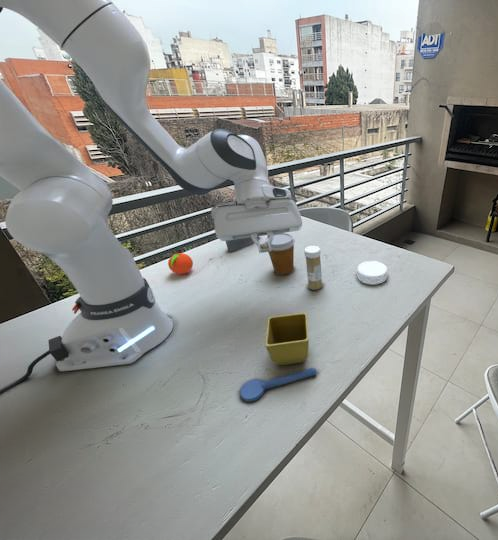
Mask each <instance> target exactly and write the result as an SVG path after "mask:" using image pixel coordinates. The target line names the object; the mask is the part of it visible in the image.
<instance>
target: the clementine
mask: <svg viewBox="0 0 498 540" xmlns="http://www.w3.org/2000/svg"><path fill="white" fill-rule="evenodd" d="M167 262H168V263H167V265H168V268H169V270H170V271H172V272H173V273H175V274H177V275H183V274H188V273H189V272H190V271H191V270H192V268H193V267H194V261H193V259H192V257H191V256H190V255H188V254H186V253H183V252H177V253H174V254H172V255H171V256H170V257H169V258H168V261H167Z"/></svg>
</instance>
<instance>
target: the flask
mask: <svg viewBox="0 0 498 540" xmlns="http://www.w3.org/2000/svg"><path fill="white" fill-rule="evenodd" d="M234 201H237V200H236V199H232V200H230V202H234ZM259 240H260V236H258V240H257V241H259ZM253 244H255V243H254V242H253V241H252V238H251V237H249V238H242V239H235V240H227V241H225V245H226V249H227V251H228V252H229V253H233V252H236V251H239V250H241V249H245V248H246V247H248V246H250V245H253Z"/></svg>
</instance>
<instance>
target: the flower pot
mask: <svg viewBox="0 0 498 540" xmlns="http://www.w3.org/2000/svg"><path fill="white" fill-rule="evenodd" d="M308 325H309V324H308V313H307V312H301V313H299V312H298V313H293V314H292V313H291V314H284V315H275V316H269V317H268V318H267V325H266V335H265V336H266V337H265V343H264V344H265V345H264V346H265V348H266V350H267V353H268V355H269V357H270V359H271V361H272V362H273V363H274V364H277V365H279V366H286V365H287V366H289V365H294V364H301V363H303V362H305V360H307V358H308V355H309V346H310V345H309V344H310V343H309V342H310V341H309V340H310V339H309V338H310V337H309V326H308Z"/></svg>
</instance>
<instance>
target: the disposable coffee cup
mask: <svg viewBox="0 0 498 540" xmlns="http://www.w3.org/2000/svg"><path fill="white" fill-rule="evenodd" d="M273 237H274V238H273V241H272V243H271V251H270V252H267V253H268V255H269V259H270V262H271V265H272V268H273V271H274V273H275V274H277V275H281V276H283V275H288V274H290V273H292V272H294V257H295V255H294V251H295V250H294V249H295V247H294V246H295V238H294V237H293V235H292V234H291V233H289V232H286V233H278V234H273ZM268 240H269V239H268V237H267V236H266V238H265V240H264V243H267V242H268Z"/></svg>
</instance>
